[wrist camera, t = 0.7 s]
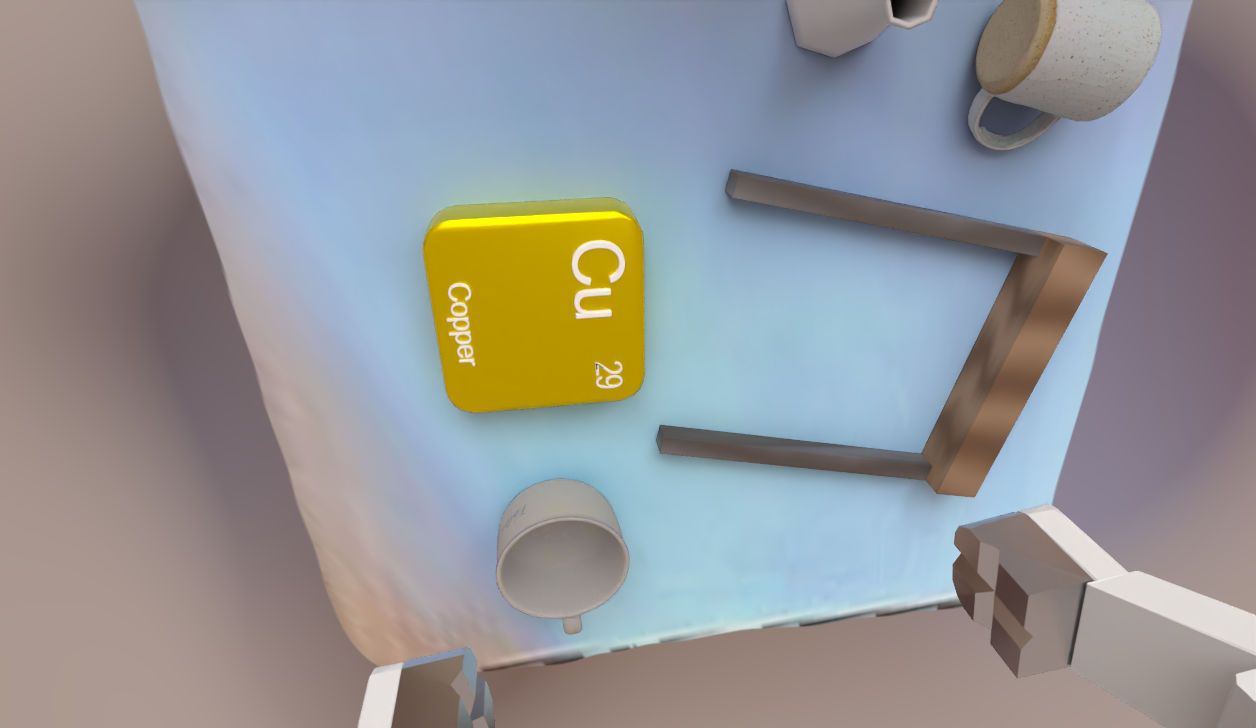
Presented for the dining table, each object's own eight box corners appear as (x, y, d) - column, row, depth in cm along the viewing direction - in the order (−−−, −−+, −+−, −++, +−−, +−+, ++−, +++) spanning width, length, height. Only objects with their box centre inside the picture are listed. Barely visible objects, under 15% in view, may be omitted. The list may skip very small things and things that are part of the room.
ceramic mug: (995, -25, 46) (1075, -28, 39) (1096, 0, 47) (1190, 1, 41) (934, 136, 50) (997, 158, 44) (1028, 153, 52) (1102, 177, 45)
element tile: (425, 205, 48) (415, 224, 44) (634, 194, 50) (645, 211, 45) (454, 389, 55) (449, 420, 51) (637, 373, 57) (646, 403, 52)
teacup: (500, 460, 58) (497, 521, 51) (624, 461, 60) (638, 521, 53) (496, 579, 64) (492, 649, 57) (608, 578, 66) (618, 645, 59)
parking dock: (731, 169, 49) (747, 181, 46) (1070, 237, 56) (1107, 253, 52) (656, 440, 59) (664, 467, 56) (950, 471, 66) (974, 497, 62)
